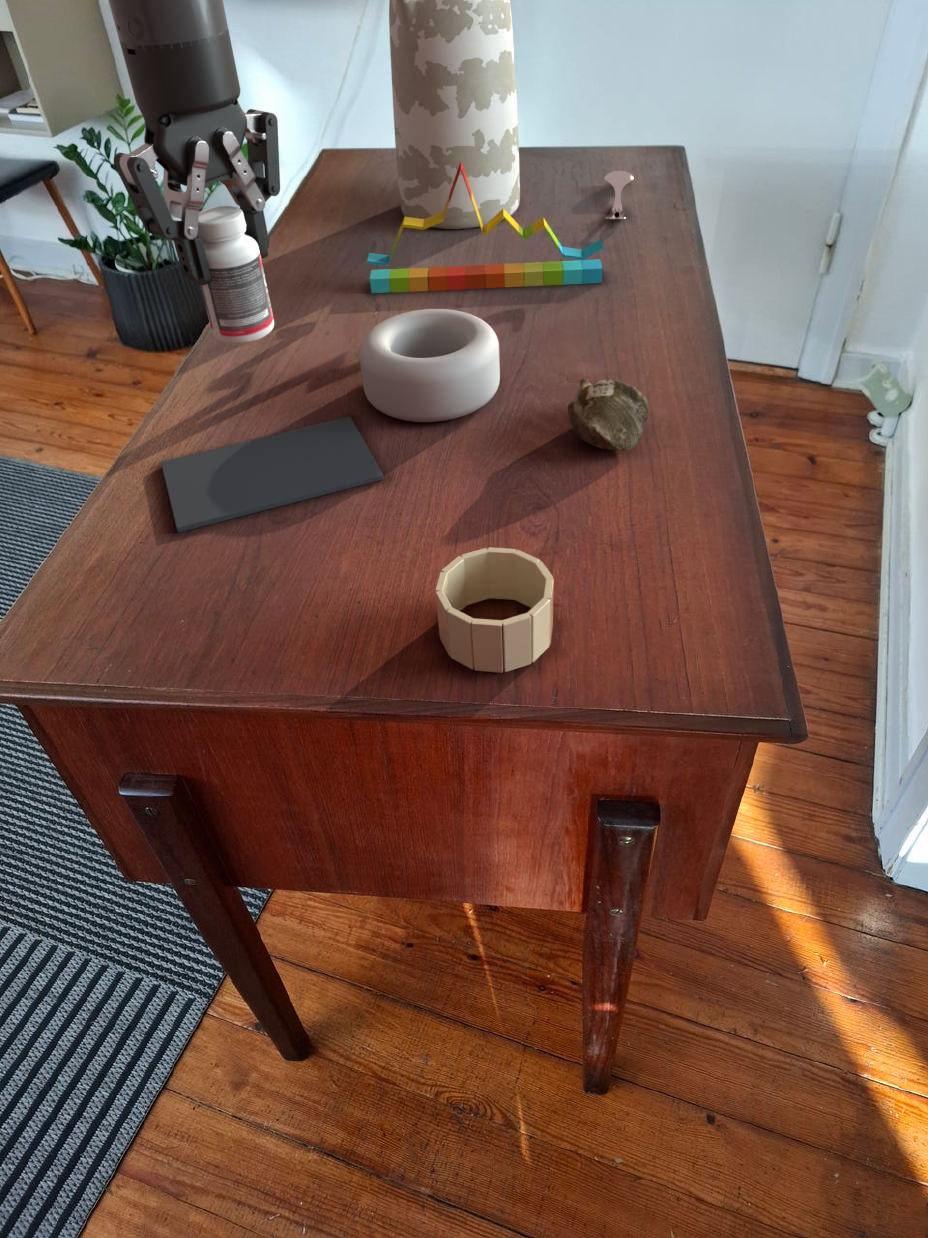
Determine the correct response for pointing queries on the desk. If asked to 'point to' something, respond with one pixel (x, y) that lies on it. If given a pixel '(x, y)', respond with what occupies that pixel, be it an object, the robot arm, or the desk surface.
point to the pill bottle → (234, 278)
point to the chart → (495, 273)
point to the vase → (454, 108)
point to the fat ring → (430, 365)
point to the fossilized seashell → (609, 414)
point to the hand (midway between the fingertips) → (229, 268)
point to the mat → (267, 473)
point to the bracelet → (498, 579)
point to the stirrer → (618, 191)
